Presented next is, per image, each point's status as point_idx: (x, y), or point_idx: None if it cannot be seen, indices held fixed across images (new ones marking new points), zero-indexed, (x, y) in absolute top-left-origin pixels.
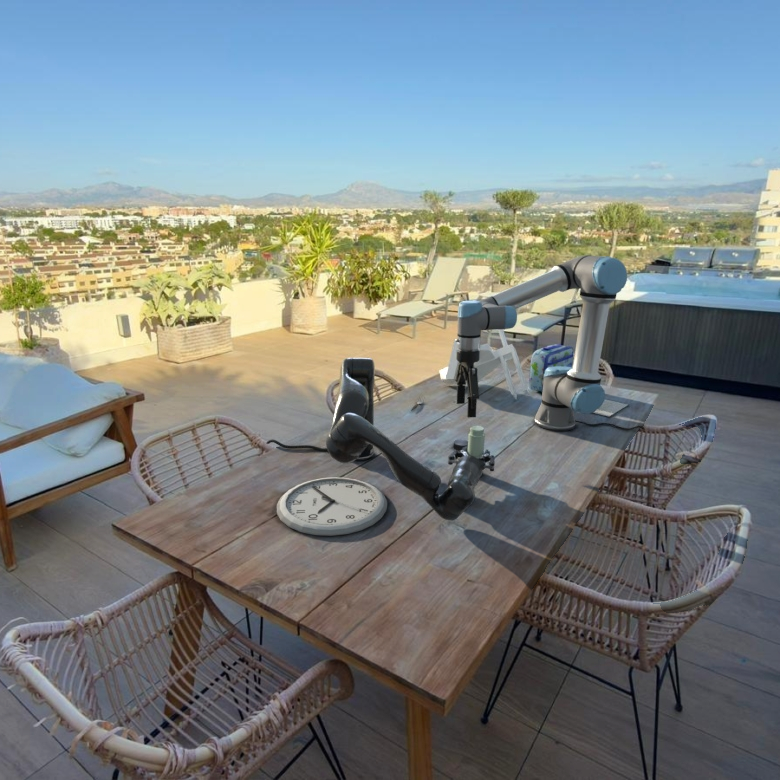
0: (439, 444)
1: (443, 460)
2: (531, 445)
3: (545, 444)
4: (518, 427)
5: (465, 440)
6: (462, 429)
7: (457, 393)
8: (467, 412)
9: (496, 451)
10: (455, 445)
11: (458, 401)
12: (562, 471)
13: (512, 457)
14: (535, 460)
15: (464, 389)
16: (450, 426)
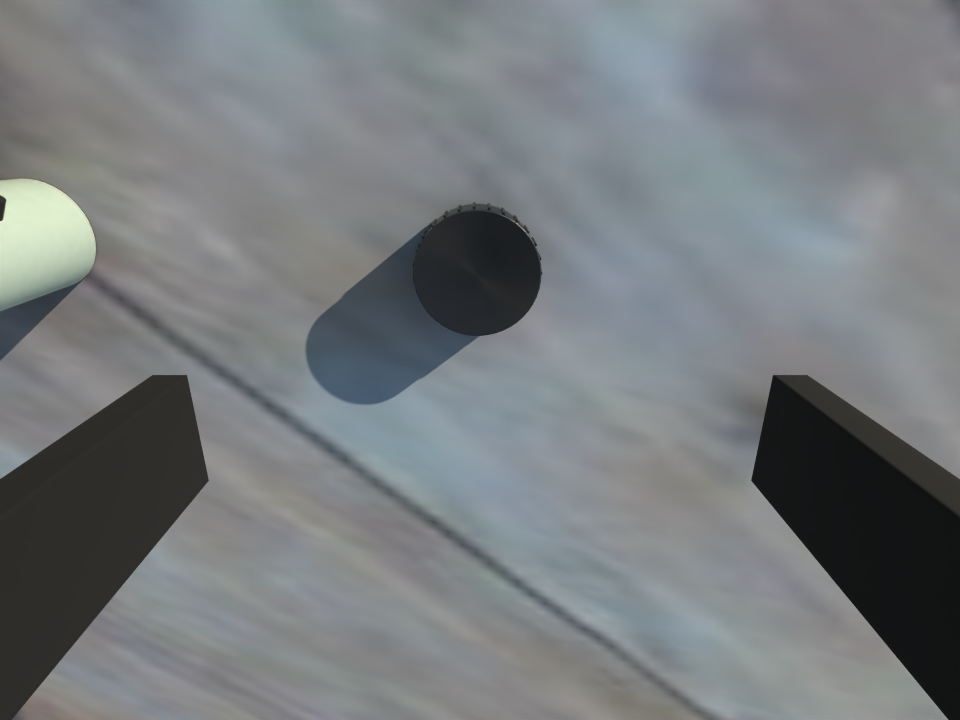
0: (571, 98)
1: (248, 52)
2: (476, 660)
3: (482, 717)
4: (741, 679)
5: (514, 315)
6: (821, 365)
7: (901, 471)
8: (138, 405)
9: (405, 472)
10: (452, 213)
11: (789, 411)
12: (155, 680)
13: (315, 529)
14: (278, 619)
15: (920, 666)
16: (914, 290)
